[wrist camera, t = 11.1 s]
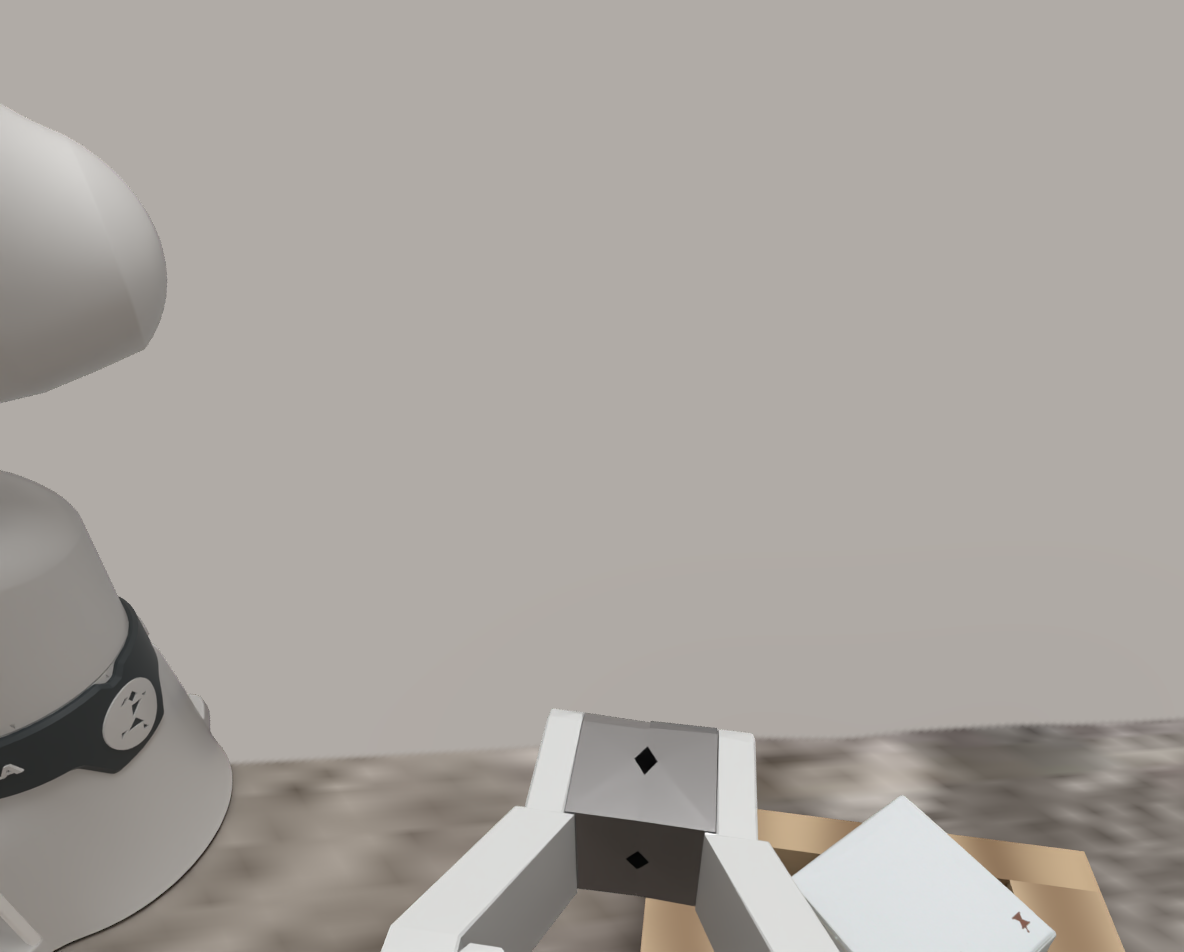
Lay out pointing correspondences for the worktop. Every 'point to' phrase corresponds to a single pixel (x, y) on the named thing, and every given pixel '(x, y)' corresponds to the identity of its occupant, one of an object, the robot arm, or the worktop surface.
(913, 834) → the supplement box
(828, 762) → the worktop surface
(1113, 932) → the oak rack
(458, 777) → the worktop surface
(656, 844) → the robot arm
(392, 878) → the worktop surface
